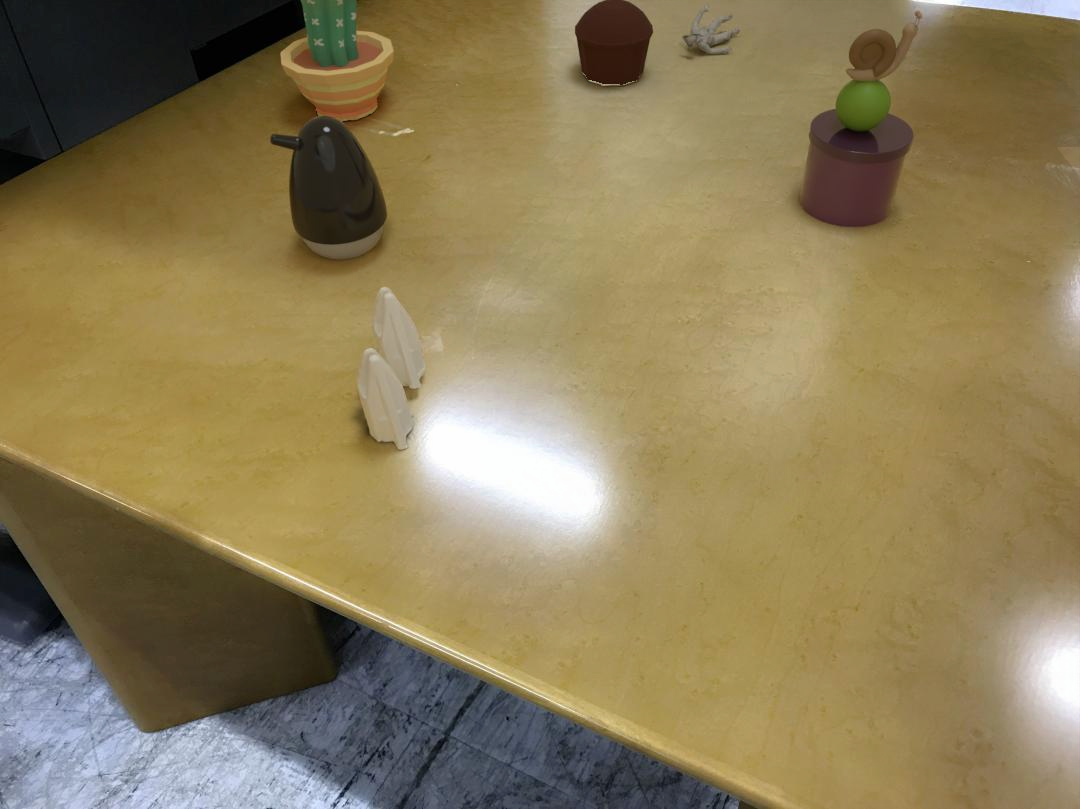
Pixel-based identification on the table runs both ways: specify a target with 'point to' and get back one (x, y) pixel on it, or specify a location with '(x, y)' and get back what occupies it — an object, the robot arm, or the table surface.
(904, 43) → the snail figurine
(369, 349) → the shaker set
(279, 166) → the table surface
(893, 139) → the jar
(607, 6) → the muffin
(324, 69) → the potted cactus
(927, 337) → the table surface
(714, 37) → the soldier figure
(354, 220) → the pump dispenser
